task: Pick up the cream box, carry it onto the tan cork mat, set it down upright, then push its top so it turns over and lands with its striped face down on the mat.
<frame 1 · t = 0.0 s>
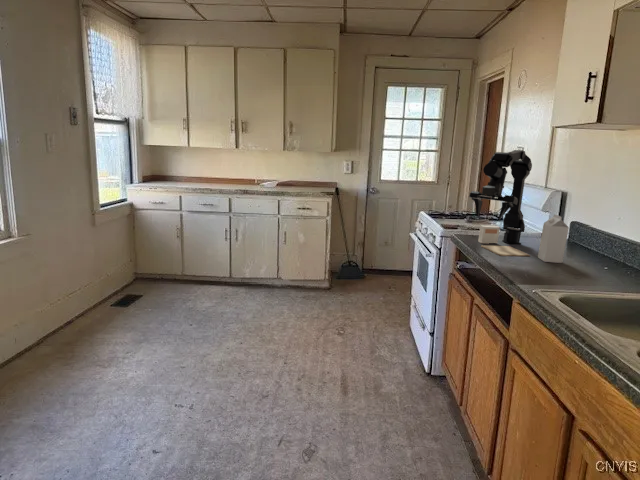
hand: (488, 217, 183), 15 cm above the counter, tool pointing down, fingers open, 9 cm apart
cream box: (487, 242, 209), on the counter
mat: (504, 251, 193), on the counter
milk carton: (549, 261, 181), on the counter
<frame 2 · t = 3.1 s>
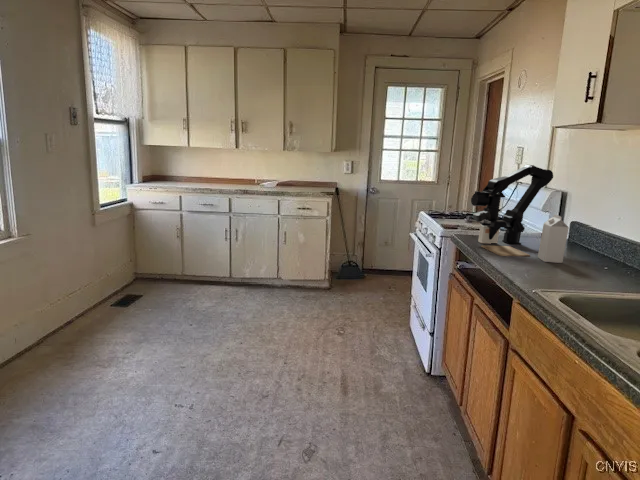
hand: (488, 238, 209), 2 cm above the counter, tool pointing down, fingers closed on cream box, 3 cm apart
cream box: (487, 242, 209), on the counter, touching gripper
everything else where it was.
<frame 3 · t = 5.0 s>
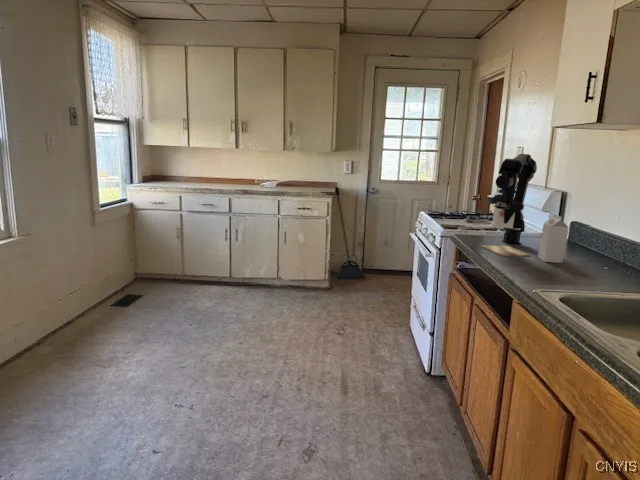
hand: (503, 222, 194), 12 cm above the counter, tool pointing down, fingers closed on cream box, 3 cm apart
cream box: (502, 227, 195), point 10 cm above the counter, touching gripper
everything else where it was.
when the fingers open (4 cm above the counter, at t = 6.8 s): cream box drops 1 cm, resting on mat.
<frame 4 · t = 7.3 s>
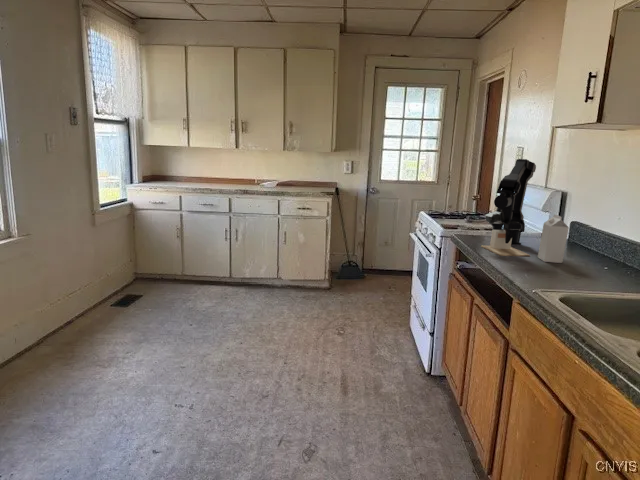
hand: (501, 240, 196), 4 cm above the counter, tool pointing down, fingers open, 9 cm apart
cream box: (500, 247, 196), point 1 cm above the counter, touching mat
everything else where it was.
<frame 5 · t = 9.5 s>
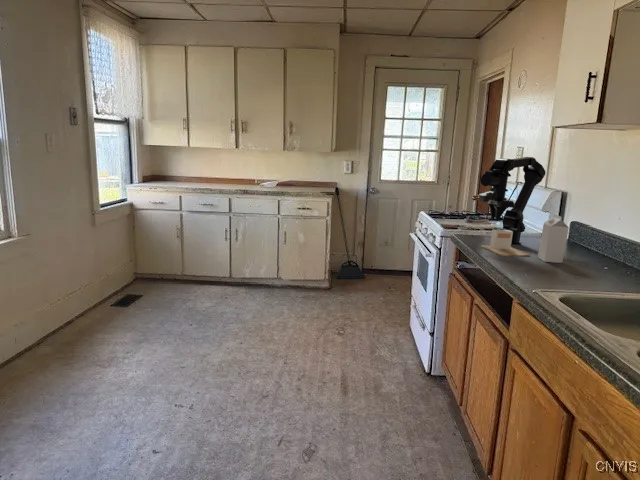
hand: (494, 219, 202), 12 cm above the counter, tool pointing down, fingers open, 3 cm apart
nothing on the counter moved.
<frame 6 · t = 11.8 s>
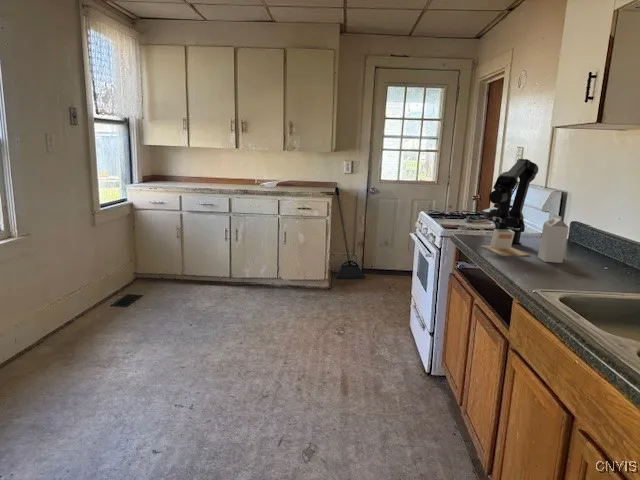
hand: (498, 236, 198), 5 cm above the counter, tool pointing down, fingers closed
cream box: (500, 247, 196), point 1 cm above the counter, tilted 10°, touching gripper, mat
everything else where it was.
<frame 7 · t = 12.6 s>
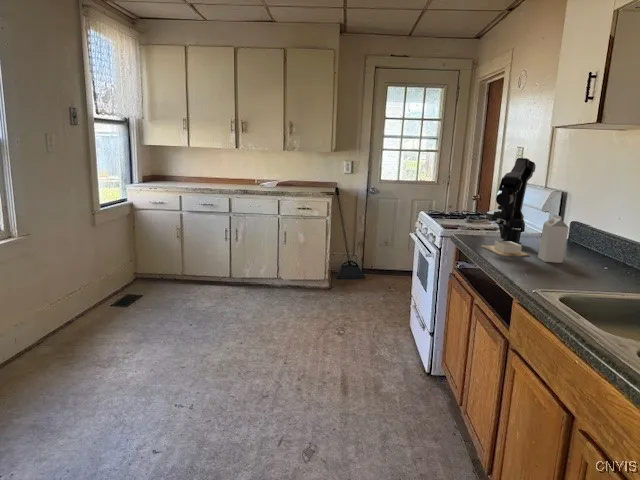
hand: (502, 238, 195), 5 cm above the counter, tool pointing down, fingers closed
cream box: (502, 245, 194), point 2 cm above the counter, tilted 89°, touching mat
everything else where it was.
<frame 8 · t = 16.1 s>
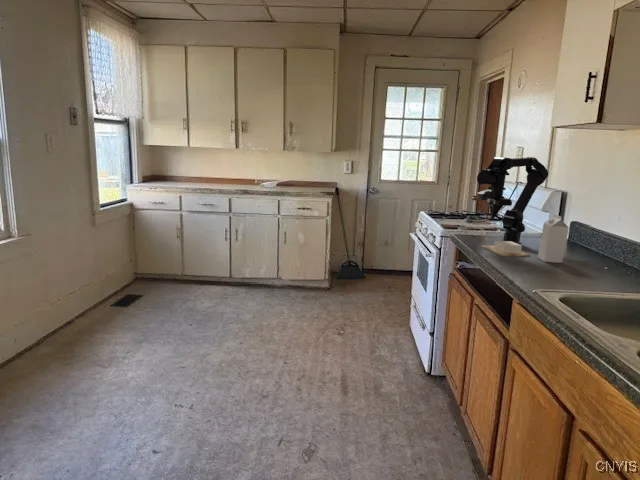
hand: (492, 218, 203), 12 cm above the counter, tool pointing down, fingers closed
nothing on the counter moved.
at the end: cream box tilted 89°; cream box inside the target area (2.3 cm from its centre), point 2.3 cm above the counter; the gripper is holding nothing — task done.
